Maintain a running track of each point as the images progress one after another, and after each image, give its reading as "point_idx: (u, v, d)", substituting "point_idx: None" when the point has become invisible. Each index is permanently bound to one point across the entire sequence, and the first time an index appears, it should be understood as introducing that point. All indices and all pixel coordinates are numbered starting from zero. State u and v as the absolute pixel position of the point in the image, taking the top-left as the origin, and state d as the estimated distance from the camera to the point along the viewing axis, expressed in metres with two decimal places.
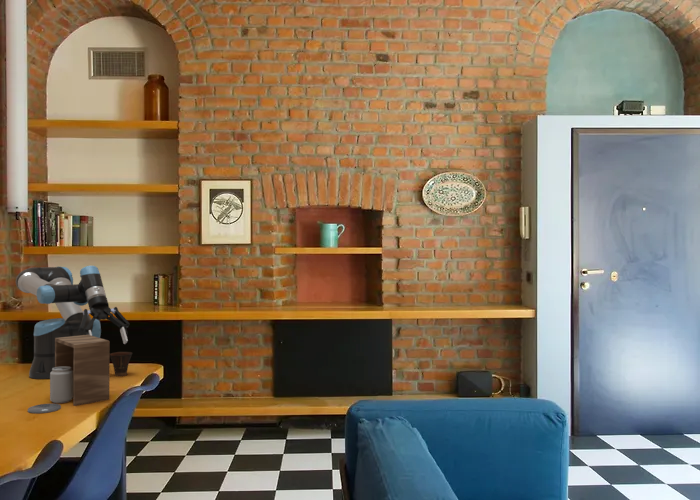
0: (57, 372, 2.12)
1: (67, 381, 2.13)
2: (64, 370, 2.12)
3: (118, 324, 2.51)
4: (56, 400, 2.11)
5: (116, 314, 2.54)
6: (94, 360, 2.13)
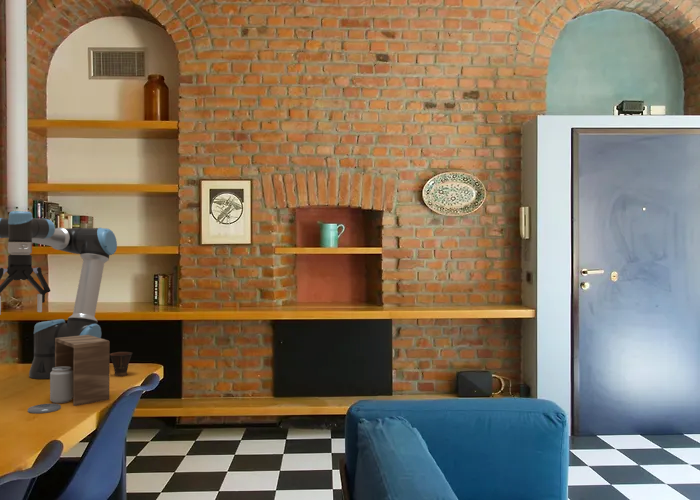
0: (57, 372, 2.12)
1: (67, 381, 2.13)
2: (64, 370, 2.12)
3: (37, 288, 2.21)
4: (56, 400, 2.11)
5: (38, 275, 2.21)
6: (94, 360, 2.13)
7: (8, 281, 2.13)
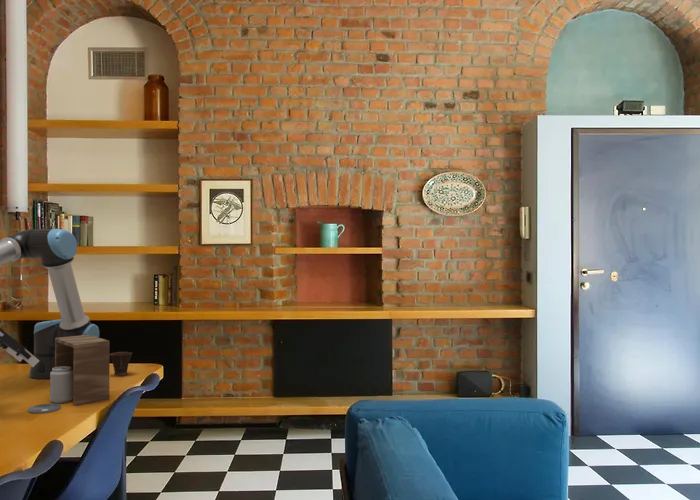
0: (57, 372, 2.12)
1: (67, 381, 2.13)
2: (64, 370, 2.12)
3: None
4: (56, 400, 2.11)
5: None
6: (94, 360, 2.13)
7: None
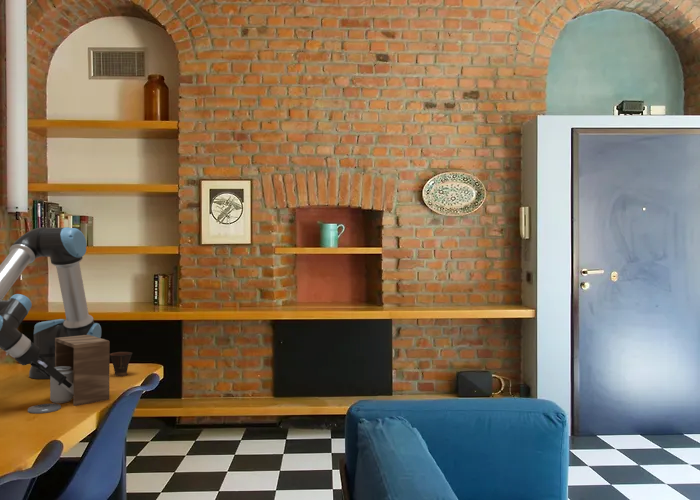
0: None
1: None
2: (64, 370, 2.12)
3: None
4: (56, 400, 2.11)
5: None
6: (94, 360, 2.13)
7: None
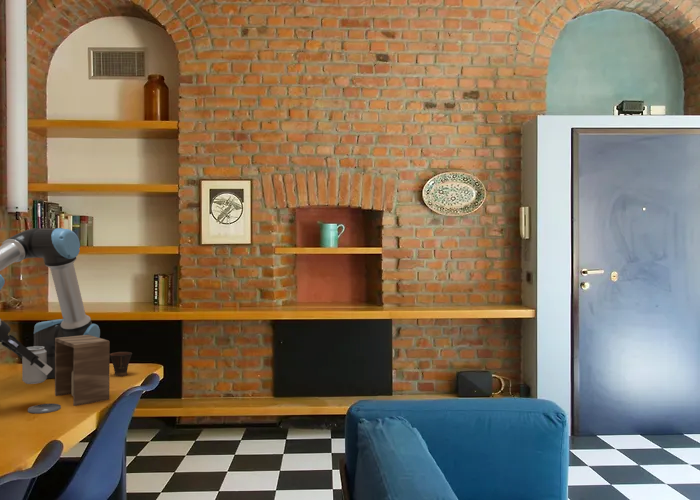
0: None
1: None
2: (37, 350, 2.06)
3: None
4: (28, 381, 2.05)
5: None
6: (94, 360, 2.13)
7: None
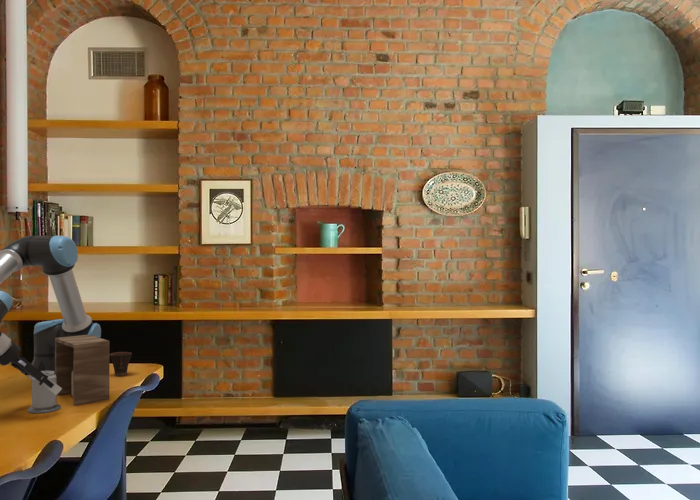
0: None
1: None
2: (47, 375, 2.02)
3: None
4: (38, 406, 2.01)
5: None
6: (94, 360, 2.13)
7: (18, 368, 2.02)
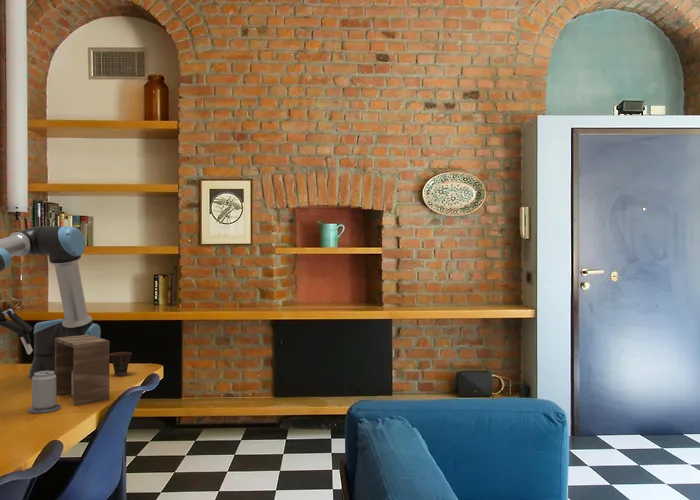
0: (39, 377, 2.01)
1: (50, 387, 2.02)
2: (47, 375, 2.02)
3: None
4: (38, 406, 2.01)
5: None
6: (94, 360, 2.13)
7: None
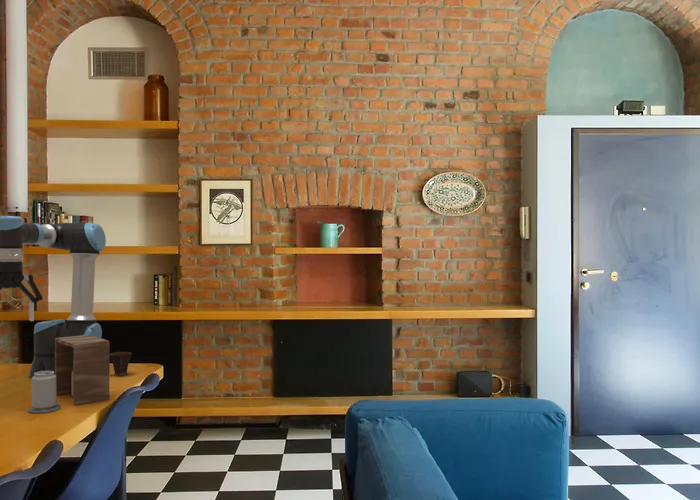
0: (39, 377, 2.01)
1: (50, 387, 2.02)
2: (47, 375, 2.02)
3: (28, 296, 2.12)
4: (38, 406, 2.01)
5: (29, 283, 2.12)
6: (94, 360, 2.13)
7: None
